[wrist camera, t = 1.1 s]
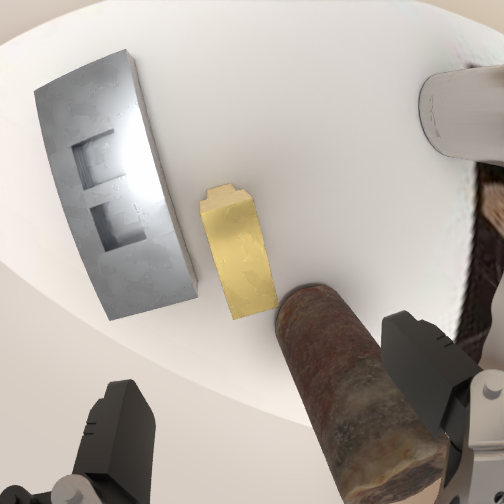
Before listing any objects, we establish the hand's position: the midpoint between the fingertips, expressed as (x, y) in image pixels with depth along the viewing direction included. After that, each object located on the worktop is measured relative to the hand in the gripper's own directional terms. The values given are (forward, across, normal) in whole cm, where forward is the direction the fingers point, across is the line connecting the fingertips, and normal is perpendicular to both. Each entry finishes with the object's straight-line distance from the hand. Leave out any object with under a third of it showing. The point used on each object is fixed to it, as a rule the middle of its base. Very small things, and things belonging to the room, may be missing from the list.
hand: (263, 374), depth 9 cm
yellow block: (+18, 0, 0) cm, 18 cm away
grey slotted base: (+18, +8, -5) cm, 20 cm away
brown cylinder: (+18, -6, +11) cm, 22 cm away
